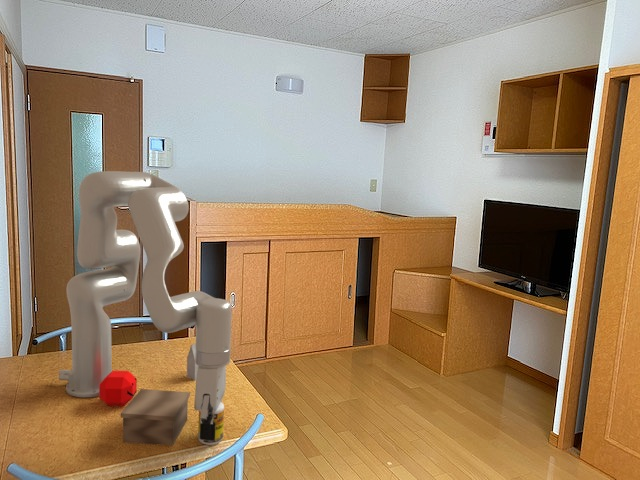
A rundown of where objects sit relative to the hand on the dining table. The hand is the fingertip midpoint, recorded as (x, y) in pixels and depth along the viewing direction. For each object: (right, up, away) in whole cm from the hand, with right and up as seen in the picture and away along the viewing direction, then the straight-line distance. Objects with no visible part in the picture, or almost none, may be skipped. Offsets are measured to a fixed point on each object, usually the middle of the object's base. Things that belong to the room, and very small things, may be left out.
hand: (211, 430), depth 113 cm
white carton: (-10, +3, +33) cm, 35 cm away
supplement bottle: (0, -2, 0) cm, 2 cm away
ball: (-27, +2, +15) cm, 31 cm away
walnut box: (-13, -1, +3) cm, 13 cm away
